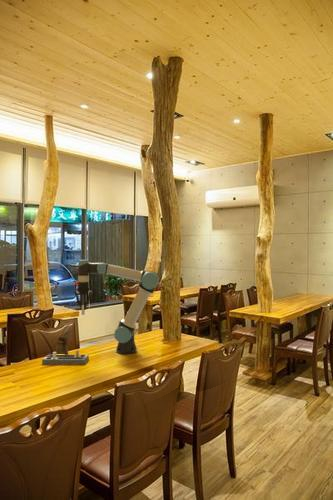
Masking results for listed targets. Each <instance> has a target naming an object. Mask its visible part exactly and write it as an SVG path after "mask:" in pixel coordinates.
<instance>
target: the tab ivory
mask: <svg viewBox="0 0 333 500" xmlns="http://www.w3.org/2000/svg"><path fill="white" fill-rule="evenodd" d="M52 355H53V358H51V359H58V358H56V351H53V352H52Z"/></svg>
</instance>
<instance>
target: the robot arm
mask: <svg viewBox="0 0 333 500" xmlns="http://www.w3.org/2000/svg"><path fill="white" fill-rule="evenodd" d="M77 262H78V264H77V272H78V273H77V275H78V276H77V289H76V290H75V291H73V293H74V295H75V299H76V303H77V305H79V310H80V311H81V315H82V316H84V315H85V312H86V310H87V305H89V303H90V299H91V295H92V294H93V290H90V286H89V283H90V282H89V281H90V274H105V275H106V274H107V275H111V276H116V277H120V278H124V279H127V280H132V281H137V282H139V284H138V290H137V292H136V294H135V297H134V299H133V301H132V303H131V304H130V307H129V309H128V310H127V313H126V315H125V317H124V318H123V319H121V320H119V321H118V326H117V327H116V329H115V330H114V338H115V341H117V346H116V347H115V348H116V353H118V354H121V355H129V354H130V355H132V354H134V353H135V354H136V352H137V349H138V348H137V346H136V341H135V329H136V328H137V327H136V323H137V321H138V319H139V317H140V315H141V313H142V311H143V309H144V308H145V306H146V304H147V301H148V299H149V297H150V296H151V295H152V294H153V293H154V292H155V290H156V288H157V286H158V284H159V283H160V275H159V274H158V273H157V272H155V271H152V270H151V271H150V270H137V269H134V268H133V269H132V268H128V267H123V266H121V265H120V266H119V265H115V264H111V263H110V264H109V263H106V262H90V261H89V260H88V259H79V260H78V261H77ZM87 295H88V296H87Z"/></svg>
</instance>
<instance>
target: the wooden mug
mask: <svg viewBox="0 0 333 500" xmlns="http://www.w3.org/2000/svg"><path fill="white" fill-rule="evenodd" d="M71 334H72V331H71V330H67V331H65V332H64V333H63V335H62V337H57V340H56V345H55V346H56V347H55V352H56V354H65V355H68V354H69V349H68V343H69V342H68V338H69V337H70V336H71ZM67 353H68V354H67Z"/></svg>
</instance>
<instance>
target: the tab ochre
mask: <svg viewBox="0 0 333 500" xmlns="http://www.w3.org/2000/svg"><path fill="white" fill-rule="evenodd" d="M74 355H75V356H74V357H81V355H82V354H80V350H79V349H76V350H75V354H74Z"/></svg>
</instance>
